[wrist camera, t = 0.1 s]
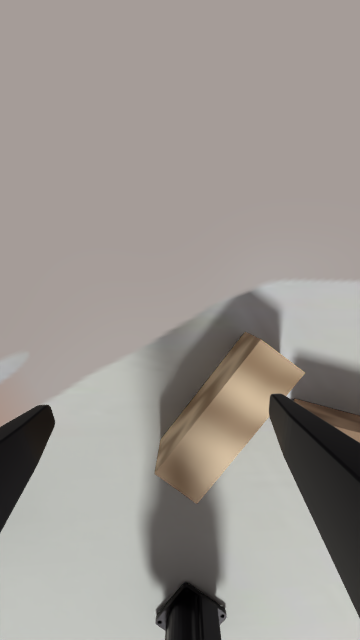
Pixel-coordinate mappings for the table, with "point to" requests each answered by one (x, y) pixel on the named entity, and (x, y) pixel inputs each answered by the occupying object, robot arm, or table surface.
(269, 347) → the beam
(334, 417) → the v block
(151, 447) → the table surface
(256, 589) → the table surface
